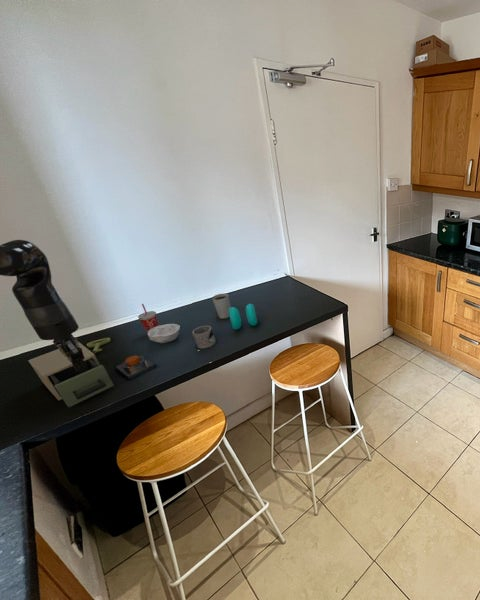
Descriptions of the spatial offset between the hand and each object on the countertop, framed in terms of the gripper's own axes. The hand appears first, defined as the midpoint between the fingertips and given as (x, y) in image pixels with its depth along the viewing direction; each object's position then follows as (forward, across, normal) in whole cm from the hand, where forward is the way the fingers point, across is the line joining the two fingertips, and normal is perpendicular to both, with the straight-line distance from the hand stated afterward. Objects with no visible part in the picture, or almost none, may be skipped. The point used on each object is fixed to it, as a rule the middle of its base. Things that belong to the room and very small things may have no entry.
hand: (82, 370), depth 89 cm
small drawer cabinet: (+16, -25, 0) cm, 29 cm away
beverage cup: (+16, -36, +29) cm, 49 cm away
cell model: (+16, -25, +29) cm, 41 cm away
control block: (+16, -15, +14) cm, 26 cm away
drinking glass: (+16, -24, +54) cm, 61 cm away
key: (+16, -43, +12) cm, 47 cm away
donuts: (+16, -7, +53) cm, 56 cm away
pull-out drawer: (+15, -14, 0) cm, 20 cm away
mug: (+16, -10, +37) cm, 41 cm away
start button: (+13, -15, +14) cm, 24 cm away
